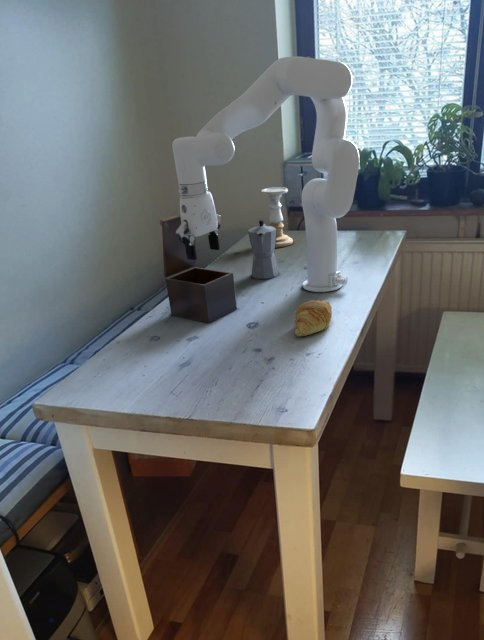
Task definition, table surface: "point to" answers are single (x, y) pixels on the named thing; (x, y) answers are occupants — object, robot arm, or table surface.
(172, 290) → the chest
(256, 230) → the coffeepot
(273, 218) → the candle holder
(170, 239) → the lid
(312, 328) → the croissant
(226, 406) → the table surface
